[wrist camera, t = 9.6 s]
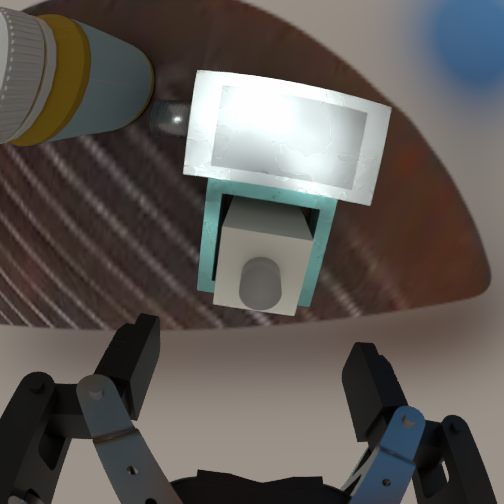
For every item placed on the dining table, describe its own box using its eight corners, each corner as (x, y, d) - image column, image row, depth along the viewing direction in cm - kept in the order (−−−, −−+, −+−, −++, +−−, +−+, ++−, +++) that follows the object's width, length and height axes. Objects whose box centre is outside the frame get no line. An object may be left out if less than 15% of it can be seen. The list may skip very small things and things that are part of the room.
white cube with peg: (234, 195, 23) (217, 240, 15) (299, 206, 23) (319, 256, 15) (225, 255, 25) (207, 323, 17) (287, 265, 25) (296, 336, 17)
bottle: (153, 130, 21) (10, 160, 8) (76, 131, 21) (-73, 169, 7) (162, 42, 18) (36, -30, 5) (83, 51, 18) (-61, 27, 5)
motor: (160, 264, 26) (126, 317, 19) (176, 81, 20) (136, 66, 13) (313, 288, 26) (328, 349, 19) (354, 109, 20) (397, 107, 13)
